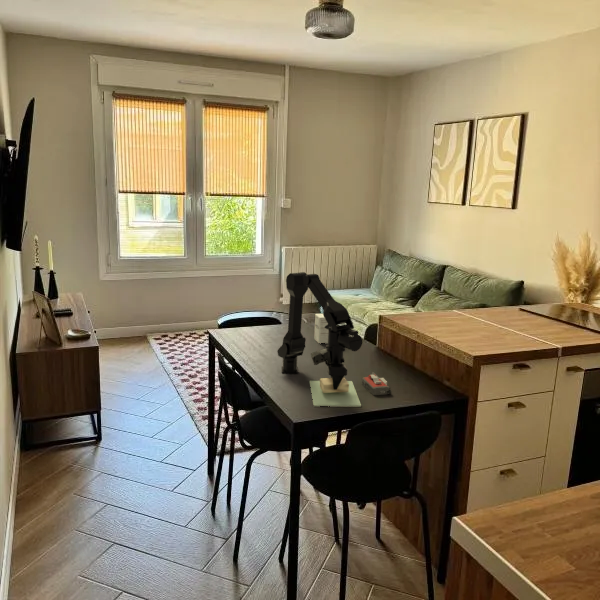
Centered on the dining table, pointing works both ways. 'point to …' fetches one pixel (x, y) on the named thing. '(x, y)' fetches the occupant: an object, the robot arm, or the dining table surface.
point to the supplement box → (320, 329)
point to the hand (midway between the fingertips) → (334, 385)
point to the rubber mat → (334, 396)
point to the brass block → (327, 385)
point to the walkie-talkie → (375, 385)
